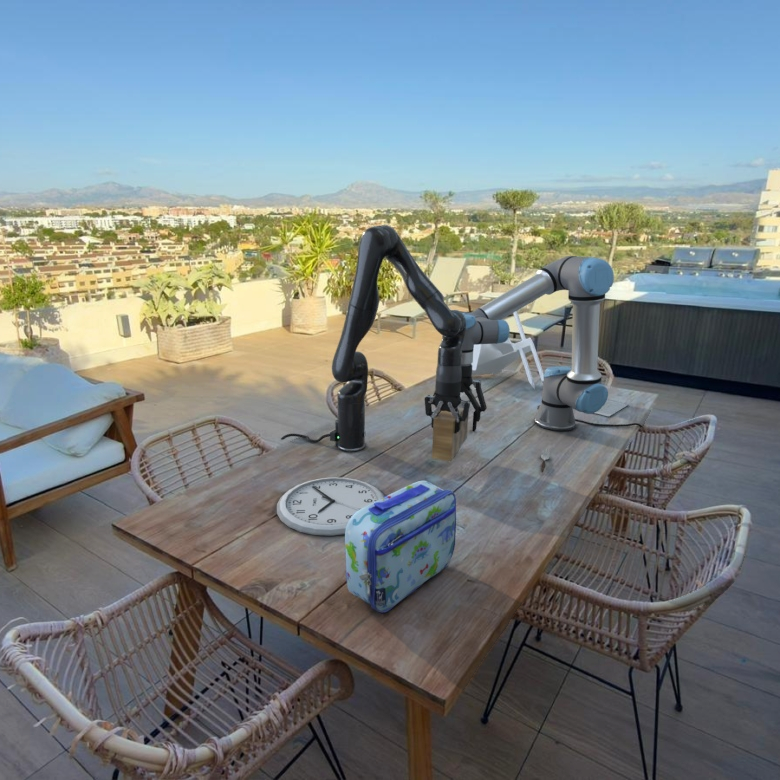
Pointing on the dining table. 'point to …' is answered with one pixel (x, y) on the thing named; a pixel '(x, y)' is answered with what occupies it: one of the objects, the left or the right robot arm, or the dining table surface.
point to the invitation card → (610, 408)
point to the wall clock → (325, 504)
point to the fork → (544, 459)
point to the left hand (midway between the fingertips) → (445, 430)
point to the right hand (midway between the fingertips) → (456, 427)
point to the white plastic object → (505, 355)
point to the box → (448, 435)
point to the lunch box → (399, 543)
